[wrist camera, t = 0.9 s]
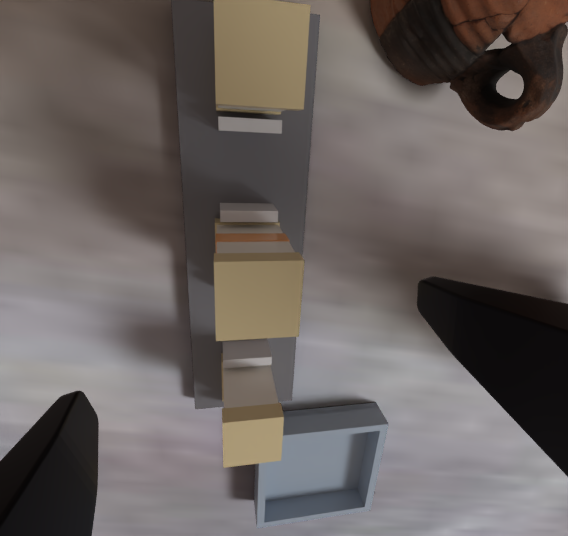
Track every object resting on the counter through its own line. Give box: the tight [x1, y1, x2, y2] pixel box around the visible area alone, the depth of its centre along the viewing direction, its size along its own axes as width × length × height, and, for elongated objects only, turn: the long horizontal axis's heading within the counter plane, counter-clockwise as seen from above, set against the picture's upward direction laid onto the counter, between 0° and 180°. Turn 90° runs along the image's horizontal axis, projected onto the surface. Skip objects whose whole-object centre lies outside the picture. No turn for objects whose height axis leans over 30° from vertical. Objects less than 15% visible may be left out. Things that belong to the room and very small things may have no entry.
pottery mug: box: [370, 0, 568, 131], centre depth 17 cm, size 12×10×8 cm
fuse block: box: [171, 0, 320, 468], centre depth 18 cm, size 7×24×7 cm, turn 177°
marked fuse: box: [214, 218, 304, 341], centre depth 17 cm, size 4×4×7 cm
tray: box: [254, 402, 388, 528], centre depth 29 cm, size 10×10×2 cm
